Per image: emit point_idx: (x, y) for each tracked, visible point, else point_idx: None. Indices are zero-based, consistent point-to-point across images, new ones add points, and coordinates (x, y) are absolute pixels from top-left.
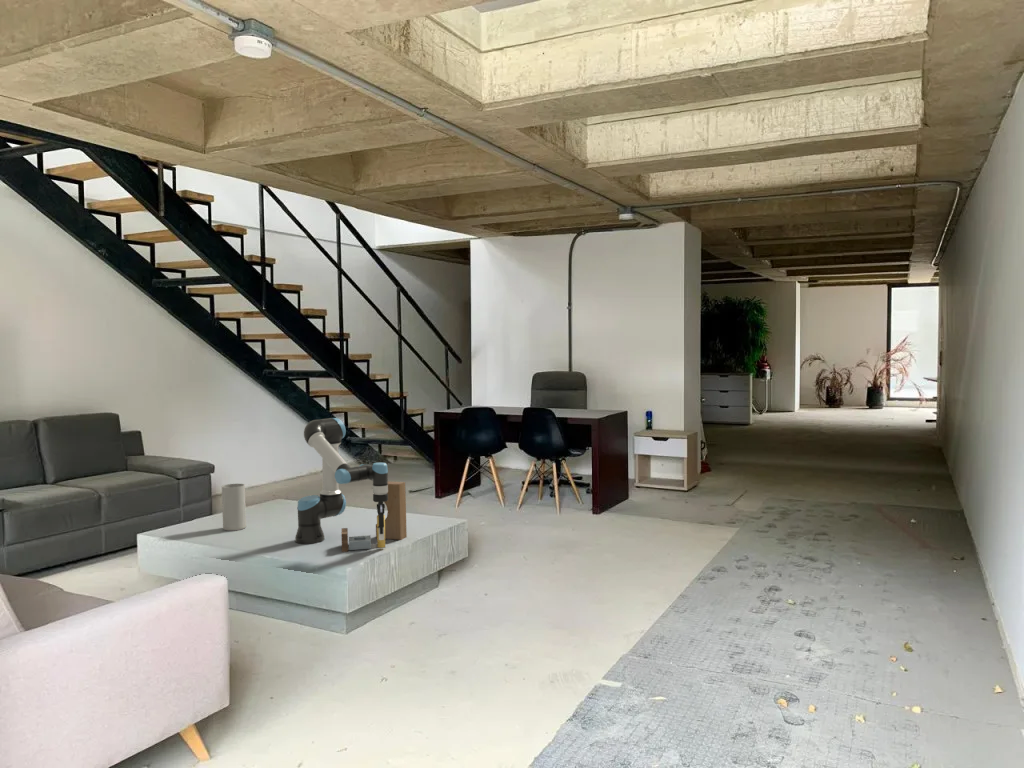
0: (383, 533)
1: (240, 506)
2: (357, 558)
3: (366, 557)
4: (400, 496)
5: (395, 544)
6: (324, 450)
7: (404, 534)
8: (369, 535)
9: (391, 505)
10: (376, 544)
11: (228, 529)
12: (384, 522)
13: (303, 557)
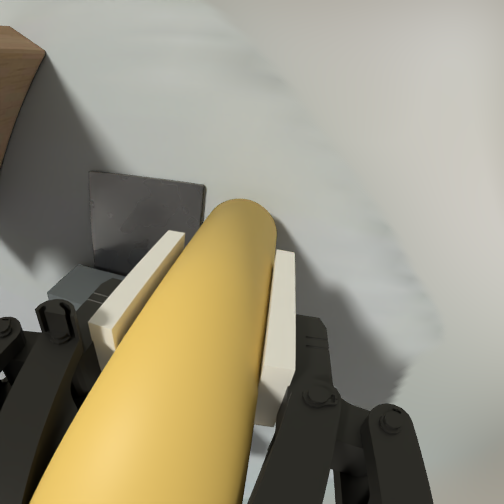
0: (294, 304)
1: None
2: (388, 388)
3: (403, 352)
4: None
5: (138, 88)
6: None
7: (4, 32)
8: (49, 298)
9: None
10: (107, 234)
11: None
12: (207, 418)
13: (245, 482)
